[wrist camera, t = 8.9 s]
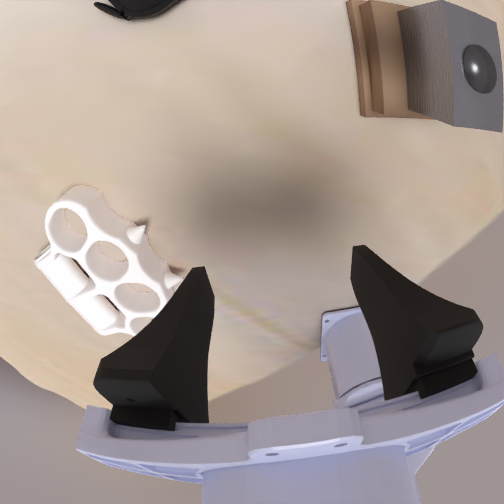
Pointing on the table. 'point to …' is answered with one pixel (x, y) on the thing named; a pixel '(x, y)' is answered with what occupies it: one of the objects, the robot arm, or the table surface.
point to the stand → (380, 59)
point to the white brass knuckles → (103, 265)
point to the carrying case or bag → (135, 8)
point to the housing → (452, 65)
